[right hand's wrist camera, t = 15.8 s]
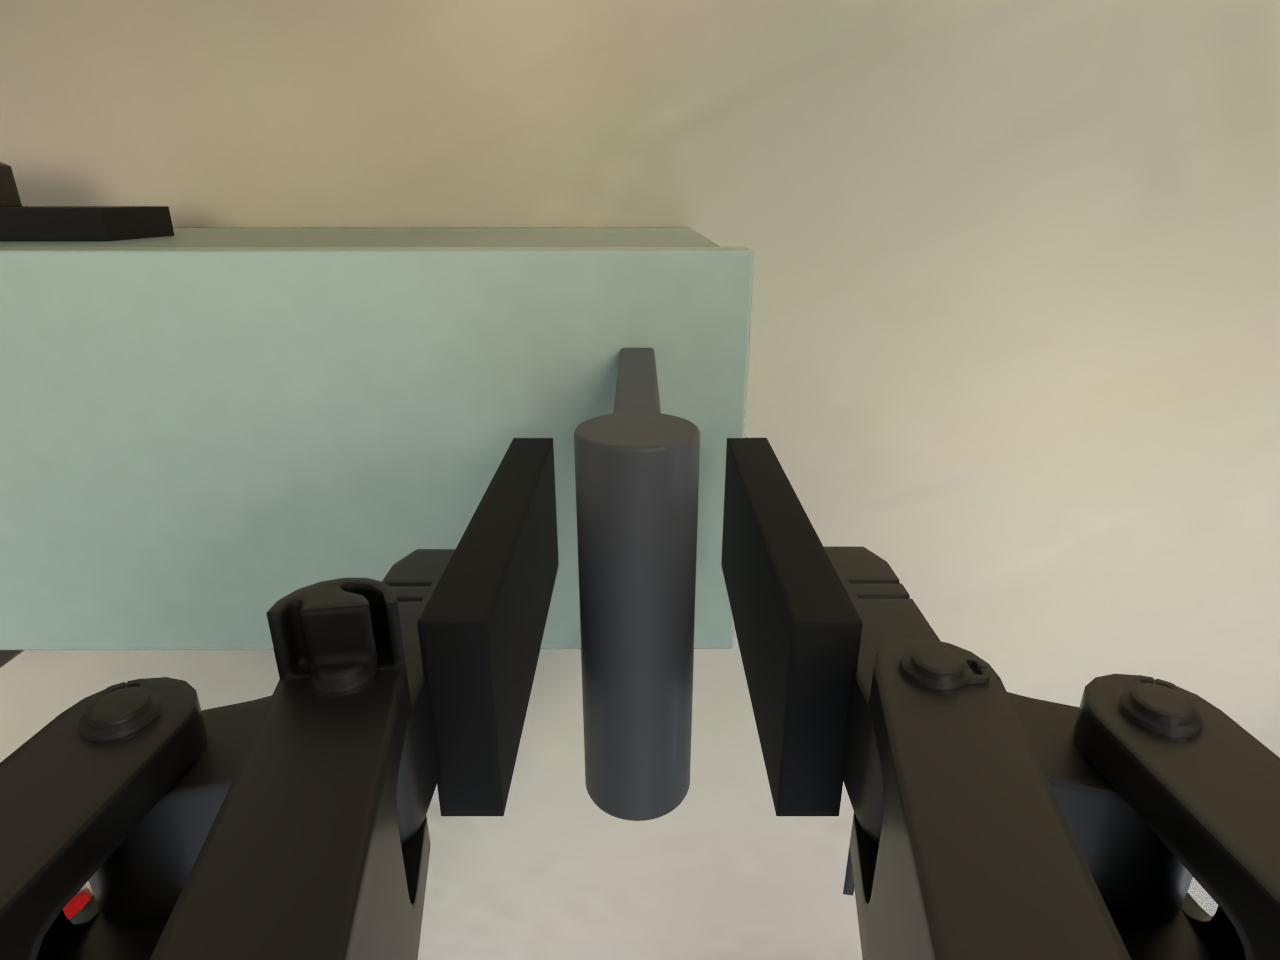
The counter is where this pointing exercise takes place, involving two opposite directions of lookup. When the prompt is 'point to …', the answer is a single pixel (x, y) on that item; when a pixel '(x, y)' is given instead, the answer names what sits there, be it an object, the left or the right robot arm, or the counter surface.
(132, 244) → the chest
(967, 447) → the counter surface
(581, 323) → the lid
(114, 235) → the left robot arm
